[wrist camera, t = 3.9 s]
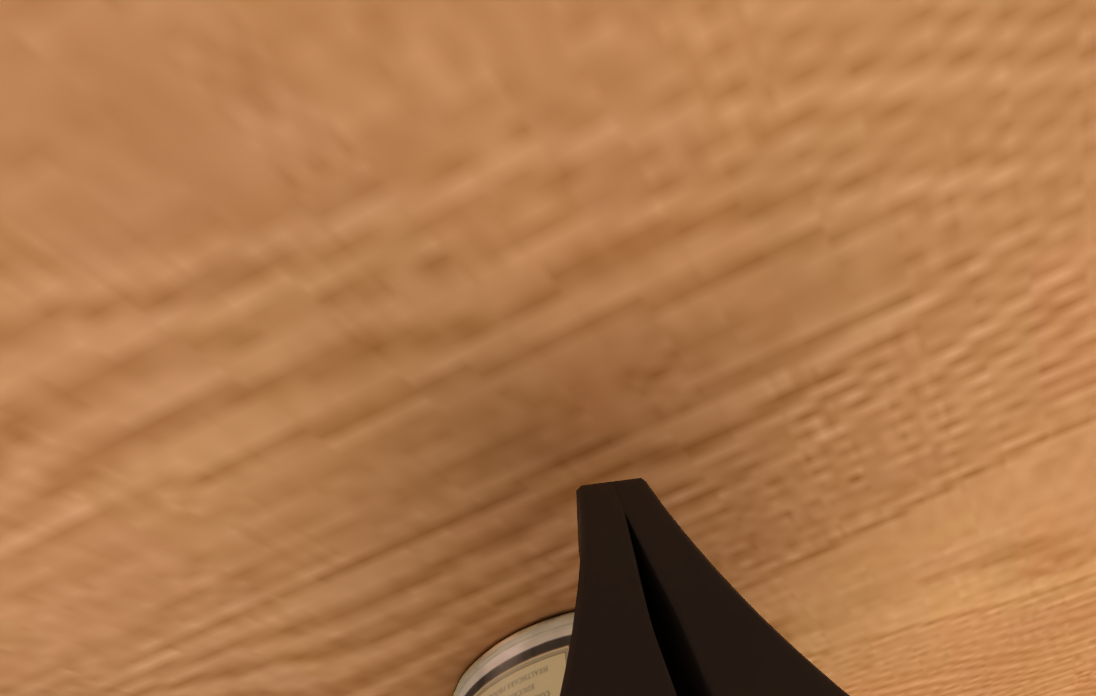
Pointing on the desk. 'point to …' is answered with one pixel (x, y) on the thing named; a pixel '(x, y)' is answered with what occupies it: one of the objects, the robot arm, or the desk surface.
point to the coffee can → (522, 662)
